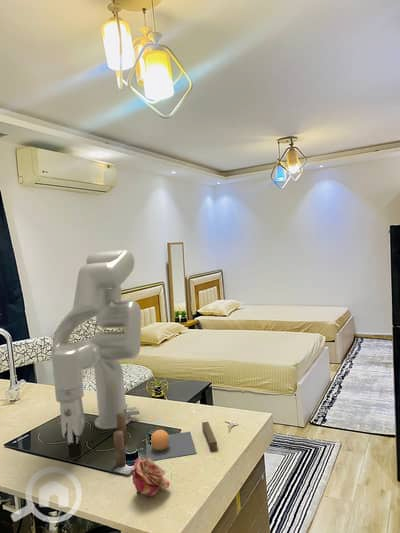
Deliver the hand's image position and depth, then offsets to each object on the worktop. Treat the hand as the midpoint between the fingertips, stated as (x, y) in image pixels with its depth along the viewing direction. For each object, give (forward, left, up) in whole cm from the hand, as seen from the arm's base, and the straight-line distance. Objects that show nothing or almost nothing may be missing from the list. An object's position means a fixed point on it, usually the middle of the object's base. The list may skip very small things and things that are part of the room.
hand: (75, 455), depth 113 cm
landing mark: (-27, 0, -2) cm, 27 cm away
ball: (-24, +1, +1) cm, 24 cm away
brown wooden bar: (-39, 0, -2) cm, 39 cm away
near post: (-13, +6, -2) cm, 15 cm away
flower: (-21, +22, -2) cm, 30 cm away
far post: (-13, -6, -2) cm, 15 cm away
